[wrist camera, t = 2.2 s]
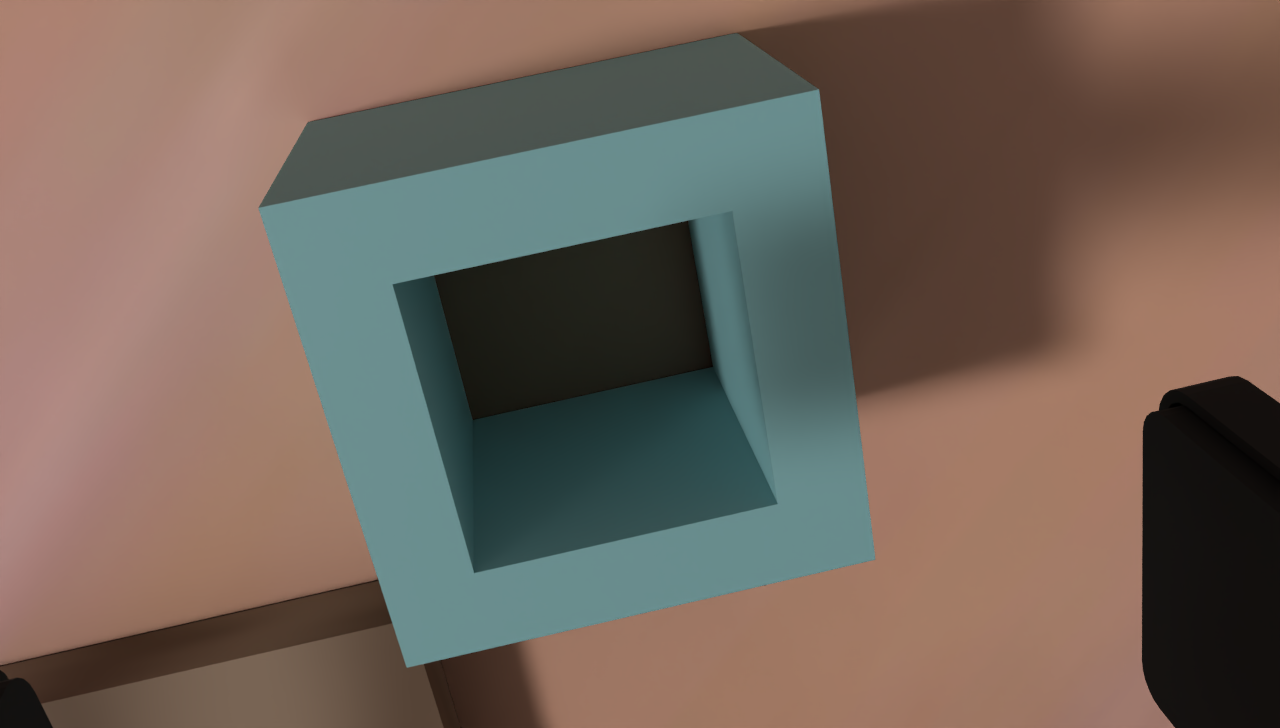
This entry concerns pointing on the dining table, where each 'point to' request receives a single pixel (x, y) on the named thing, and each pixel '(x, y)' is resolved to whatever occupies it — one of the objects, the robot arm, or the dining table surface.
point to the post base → (250, 673)
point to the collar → (595, 423)
